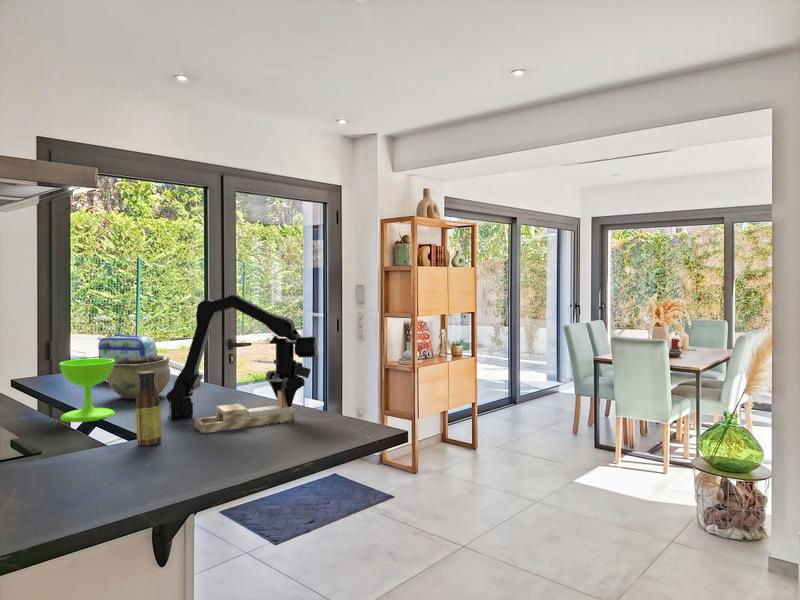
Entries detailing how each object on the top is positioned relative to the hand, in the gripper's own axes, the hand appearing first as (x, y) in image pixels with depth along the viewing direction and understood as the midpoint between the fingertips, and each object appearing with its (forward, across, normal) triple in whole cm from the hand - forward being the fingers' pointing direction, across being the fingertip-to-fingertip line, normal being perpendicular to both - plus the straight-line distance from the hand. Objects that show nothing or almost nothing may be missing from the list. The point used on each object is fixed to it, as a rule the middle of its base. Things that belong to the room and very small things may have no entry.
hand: (284, 404), depth 187 cm
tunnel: (+4, 0, +12) cm, 13 cm away
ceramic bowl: (+5, +59, +34) cm, 69 cm away
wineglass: (+5, +37, +54) cm, 65 cm away
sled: (+3, 0, +5) cm, 6 cm away
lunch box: (+5, +97, +33) cm, 103 cm away
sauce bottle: (+5, -7, +42) cm, 43 cm away
